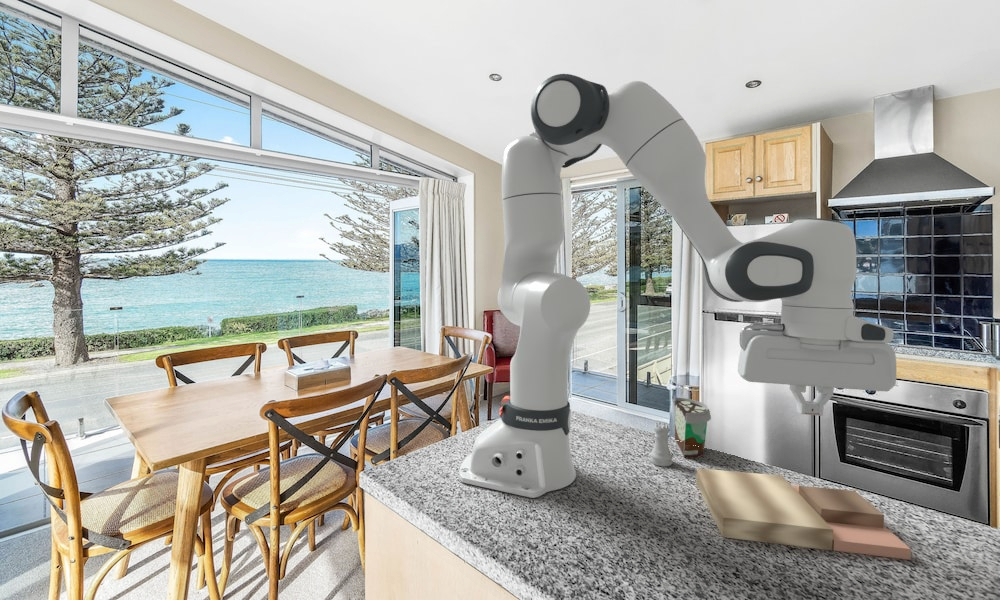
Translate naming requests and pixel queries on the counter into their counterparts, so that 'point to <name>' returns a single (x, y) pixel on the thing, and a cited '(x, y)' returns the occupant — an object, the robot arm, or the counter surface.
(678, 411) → the food container
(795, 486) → the salmon pink pad
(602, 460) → the counter surface
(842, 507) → the walnut tile
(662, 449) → the rook chess piece
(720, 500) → the oak board
